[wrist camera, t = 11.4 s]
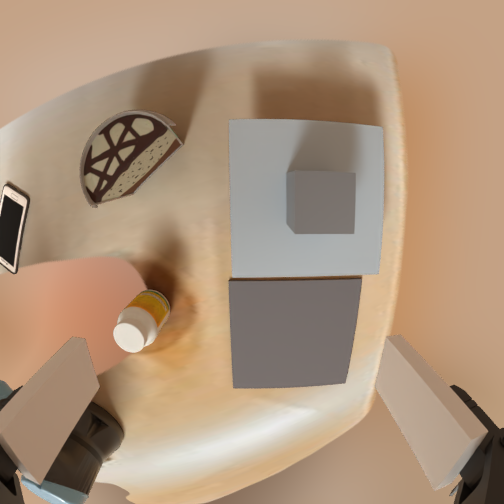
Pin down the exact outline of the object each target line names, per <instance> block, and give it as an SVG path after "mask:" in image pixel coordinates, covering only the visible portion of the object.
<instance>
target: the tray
mask: <svg viewBox="0 0 504 504" xmlns="http://www.w3.org/2000/svg"><path fill="white" fill-rule="evenodd" d="M361 282H362V279H361V278H353V279H313V280H229V303H230V328H231V351H232V371H233V388H290V387H308V386H321V385H332V384H342V383H345V382H346V377H347V373H348V368H349V362H350V357H351V352H352V346H353V340H354V334H355V328H356V321H357V314H358V307H359V299H360V291H361Z"/></svg>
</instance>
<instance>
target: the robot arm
mask: <svg viewBox="0 0 504 504" xmlns="http://www.w3.org/2000/svg"><path fill="white" fill-rule="evenodd" d="M99 388H100V385H99V382H98V379H97V376H96V373H95V370H94V367H93V364H92V361H91V357H90V354H89V350H88V347H87V343H86V339H85V338H77V337H72V338H71V339H70V340H69V341H67V342H66V343H65V344H64V345H63V346H62V347H61V348H60V349H59V350H58V351H57V352H56V353H55V354H54V355H53V356H52V357H51V358H50V359H49V360H48V361H47V362H46V363H45V364H44V365H43V366H42V367H41V368H40V369H39V370H38V371H37V373H35V374H34V375H33V376H32V378H31V379H30V380H29V381H28V382H27V383H26V384H25V385H24V386H21V387H19V388H18V389H16V390H14V391H13V390H12V389H11V388H10V387H9V386H8V384H7V383H6V382H4V381H1V380H0V504H24V500H23V496H22V492H21V487H20V482H19V478H18V476H17V474H16V473H15V472H16V470H17V469H18V470H19V471H20V472H21V473H22V474H23V475H22V476H21V481H22V483H23V485H25V486H26V487H27V488H28V489H29V490H30V491H32V492H33V493H35V494H36V495H37V496H39V497H41V498H42V499H44V500H46V501H48V502H50V503H52V504H84V503H85V501H86V499H87V498H88V497H89V496H88V495H89V493H90V490H91V488H92V486H93V483H94V481H95V479H96V477H97V474H98V472H99V470H100V468H101V466H102V463H103V462H104V461H105V460H106V459H107V458H108V457H109V456H110V455H111V454H112V453H113V452H114V451H116V450H117V449H118V448H119V447H120V445H121V443H122V441H123V431H122V429H121V427H120V426H119V424H118V423H117V421H116V420H115V419H114V418H113V417H112V416H111V415H110V414H109V413H108V412H106V411H105V410H104V409H102V408H101V407H99V406H98V405H96V404H95V403H93V402H91V400H92V398H93V397H94V395H95V394H96V392H97V391H98V389H99ZM375 388H376V389H377V391H378V393H379V394H380V396H381V398H382V399H383V401H384V403H385V404H386V406H387V408H388V410H389V411H390V413H391V414H392V416H393V418H394V420H395V421H396V423H397V425H398V426H399V428H400V430H401V432H402V434H403V435H404V437H405V439H406V440H407V442H408V444H409V446H410V447H411V449H412V451H413V453H414V455H415V456H416V458H417V460H418V462H419V464H420V465H421V467H422V469H423V471H424V473H425V474H426V476H427V478H428V480H429V482H430V484H431V485H432V487H433V489H434V491H436V490H437V489H440V488H442V487H444V486H446V485H448V484H451V483H452V482H453V480H454V479H455V478H456V477H457V475H458V474H459V473H460V475H461V477H462V480H461V481H460V482H459V483H458V485H457V486H456V487H455V488H454V489H453V490H452V492H451V494H450V496H452V495H453V494H454V493H455V492H456V491H457V494H456V497H455V501H454V504H504V428H501V429H499V428H498V427H497V426H496V425H495V424H494V423H493V421H492V420H491V419H490V418H489V417H488V416H487V415H486V414H485V412H484V411H483V410H482V409H481V408H480V407H479V406H477V404H476V402H475V401H474V400H472V398H471V397H470V396H469V395H468V394H467V393H466V392H465V391H464V390H462V389H461V388H459V387H457V386H455V385H452V386H449V385H448V384H447V383H446V382H445V381H444V380H443V379H442V378H441V377H440V376H439V375H438V373H437V372H436V371H435V370H434V369H433V368H432V367H431V366H430V365H429V364H428V363H427V362H426V361H425V359H423V357H422V356H421V355H420V354H419V353H418V352H417V351H416V350H415V349H414V348H413V347H412V346H411V345H410V344H409V343H408V342H407V341H406V340H405V339H404V338H403V337H402V335H394V336H387V337H386V339H385V344H384V349H383V353H382V358H381V362H380V366H379V371H378V375H377V379H376V383H375Z"/></svg>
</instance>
